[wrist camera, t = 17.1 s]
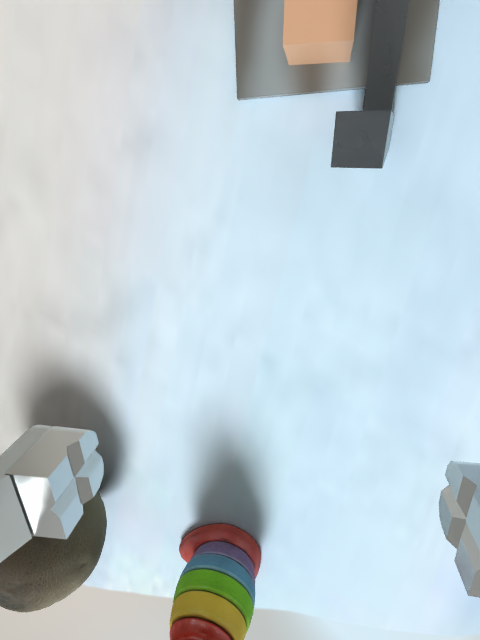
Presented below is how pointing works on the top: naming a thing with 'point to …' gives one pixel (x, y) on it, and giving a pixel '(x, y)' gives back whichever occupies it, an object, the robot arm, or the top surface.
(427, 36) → the wooden tray
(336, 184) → the top surface
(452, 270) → the top surface
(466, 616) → the top surface
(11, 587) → the cantaloupe
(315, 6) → the block
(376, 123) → the hook tool
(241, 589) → the stacking bear
